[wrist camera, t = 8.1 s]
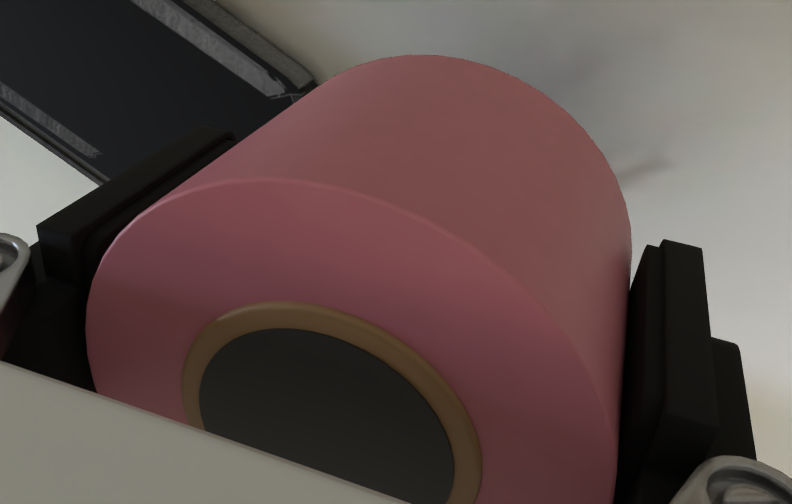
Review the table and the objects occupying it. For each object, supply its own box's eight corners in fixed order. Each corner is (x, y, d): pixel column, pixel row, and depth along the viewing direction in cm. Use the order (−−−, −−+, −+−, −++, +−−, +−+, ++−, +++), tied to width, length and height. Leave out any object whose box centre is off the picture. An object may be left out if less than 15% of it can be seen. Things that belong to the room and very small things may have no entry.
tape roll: (263, 16, 11) (37, 115, 7) (691, 105, 10) (713, 289, 6) (260, 337, 15) (108, 525, 11) (574, 435, 13) (536, 693, 9)
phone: (-122, -220, 19) (319, 101, 20) (-87, -218, 20) (334, 90, 21) (-142, 18, 24) (220, 275, 25) (-112, 12, 25) (235, 259, 26)
